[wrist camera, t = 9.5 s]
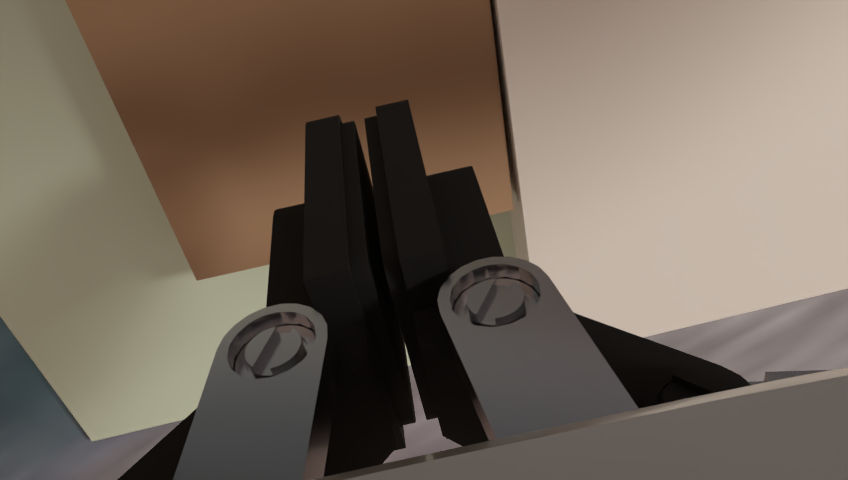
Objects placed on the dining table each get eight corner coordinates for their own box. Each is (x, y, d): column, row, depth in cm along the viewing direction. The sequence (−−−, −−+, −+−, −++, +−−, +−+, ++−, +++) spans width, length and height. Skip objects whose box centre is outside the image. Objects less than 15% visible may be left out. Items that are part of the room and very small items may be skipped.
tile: (43, -126, 16) (14, -109, 14) (449, -212, 16) (466, -205, 14) (204, 239, 21) (196, 280, 20) (497, 173, 22) (513, 209, 20)
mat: (-576, -486, 12) (-593, -491, 11) (381, -703, 12) (383, -713, 12) (93, 434, 26) (92, 441, 26) (524, 331, 26) (526, 337, 26)
